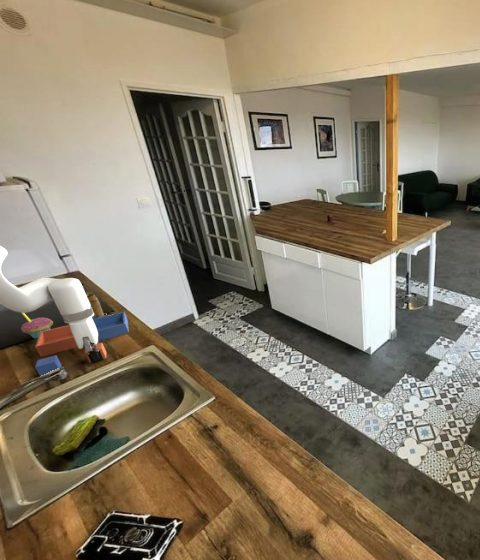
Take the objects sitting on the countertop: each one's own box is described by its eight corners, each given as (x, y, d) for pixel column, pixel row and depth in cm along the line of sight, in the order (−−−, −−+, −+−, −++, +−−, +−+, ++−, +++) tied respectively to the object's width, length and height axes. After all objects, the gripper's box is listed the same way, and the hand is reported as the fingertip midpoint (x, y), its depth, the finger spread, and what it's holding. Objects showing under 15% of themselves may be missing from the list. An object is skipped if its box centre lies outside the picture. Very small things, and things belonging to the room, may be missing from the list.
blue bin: (88, 343, 119) (84, 334, 117) (90, 329, 128) (86, 320, 126) (128, 332, 126) (125, 323, 125) (127, 320, 135) (124, 311, 133)
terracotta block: (89, 363, 109) (84, 353, 107) (90, 356, 112) (85, 346, 110) (106, 358, 112) (101, 348, 110) (106, 352, 115) (102, 342, 113)
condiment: (91, 315, 138) (81, 291, 133) (113, 313, 140) (104, 289, 135) (81, 323, 132) (69, 299, 127) (104, 321, 134) (94, 297, 129)
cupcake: (34, 343, 119) (19, 316, 114) (21, 338, 122) (6, 312, 117) (62, 331, 127) (49, 305, 122) (49, 327, 129) (36, 302, 124)
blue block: (41, 378, 102) (34, 367, 100) (43, 370, 105) (37, 360, 104) (60, 372, 105) (54, 361, 103) (61, 365, 108) (56, 355, 106)
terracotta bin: (40, 357, 112) (35, 346, 110) (46, 341, 120) (40, 331, 119) (86, 344, 119) (81, 334, 117) (88, 330, 127) (83, 321, 126)
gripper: (65, 307, 108) (85, 349, 116) (59, 328, 96) (82, 374, 104) (93, 301, 113) (111, 342, 120) (91, 320, 101) (111, 365, 108)
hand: (97, 356), depth 112 cm, fingers closed on terracotta block, 4 cm apart
